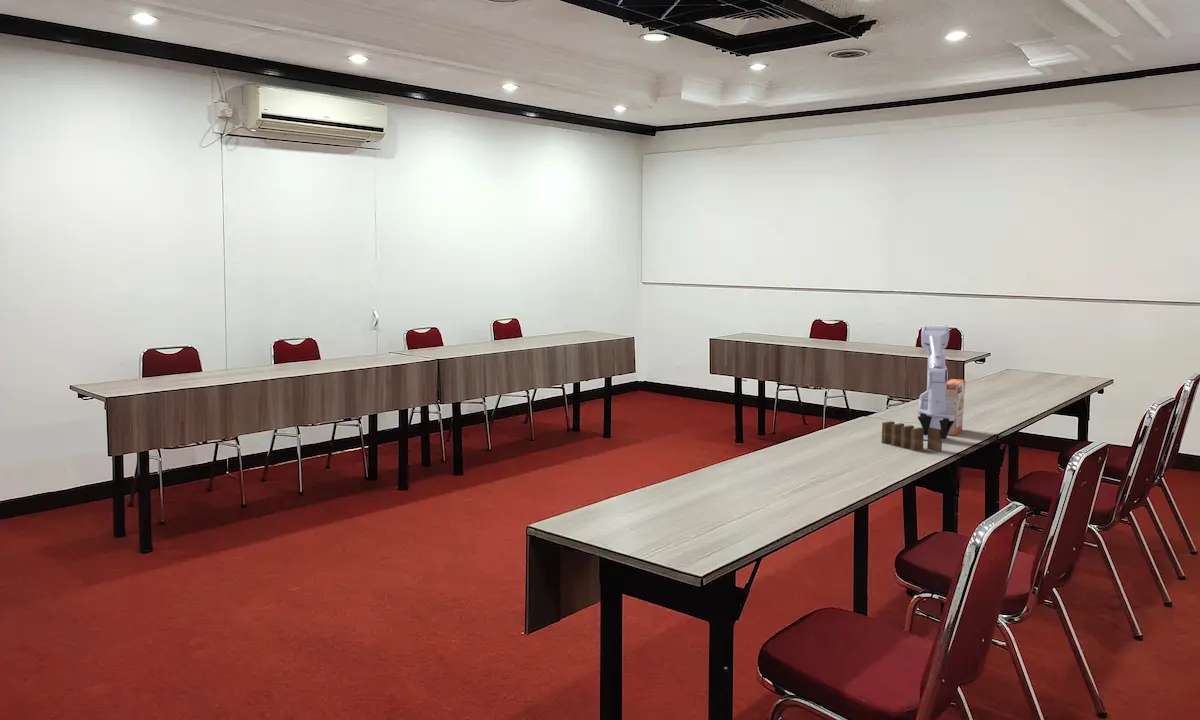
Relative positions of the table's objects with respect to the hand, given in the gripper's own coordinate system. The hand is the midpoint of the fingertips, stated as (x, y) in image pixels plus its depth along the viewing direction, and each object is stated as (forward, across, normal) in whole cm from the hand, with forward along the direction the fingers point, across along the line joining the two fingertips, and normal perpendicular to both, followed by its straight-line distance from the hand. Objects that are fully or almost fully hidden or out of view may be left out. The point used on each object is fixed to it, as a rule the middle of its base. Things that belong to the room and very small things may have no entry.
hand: (935, 436), depth 314 cm
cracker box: (+5, -16, +31) cm, 36 cm away
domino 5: (+5, 0, 0) cm, 5 cm away
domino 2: (+5, -13, -5) cm, 15 cm away
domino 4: (+5, -4, -5) cm, 8 cm away
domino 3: (+5, -8, -5) cm, 11 cm away
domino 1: (+5, -18, -5) cm, 19 cm away
